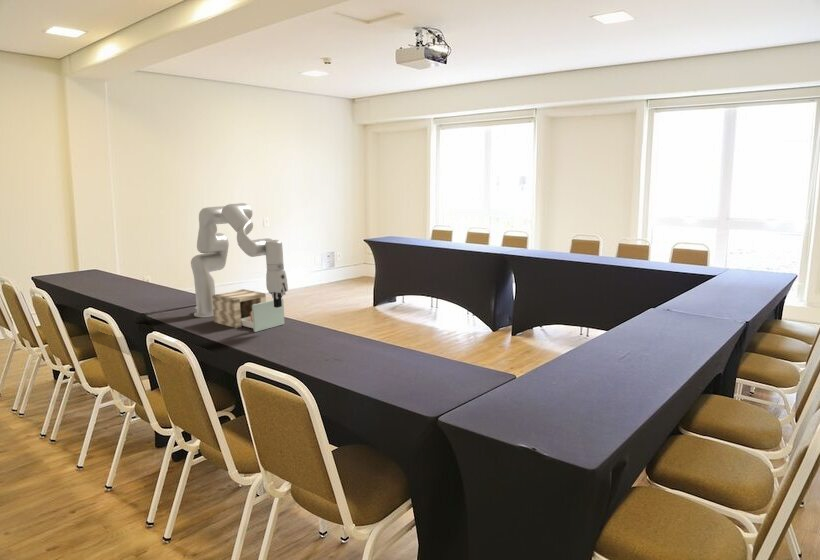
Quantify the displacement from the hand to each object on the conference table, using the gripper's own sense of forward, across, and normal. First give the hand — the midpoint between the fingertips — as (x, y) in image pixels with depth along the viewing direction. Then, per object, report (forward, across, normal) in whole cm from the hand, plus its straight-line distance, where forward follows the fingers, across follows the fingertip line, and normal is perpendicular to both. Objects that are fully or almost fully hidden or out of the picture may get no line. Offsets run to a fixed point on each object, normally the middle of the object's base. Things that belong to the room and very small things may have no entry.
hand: (277, 306), depth 263 cm
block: (+10, +15, 0) cm, 18 cm away
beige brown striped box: (+11, +30, 0) cm, 32 cm away
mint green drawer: (+11, +15, 0) cm, 19 cm away
